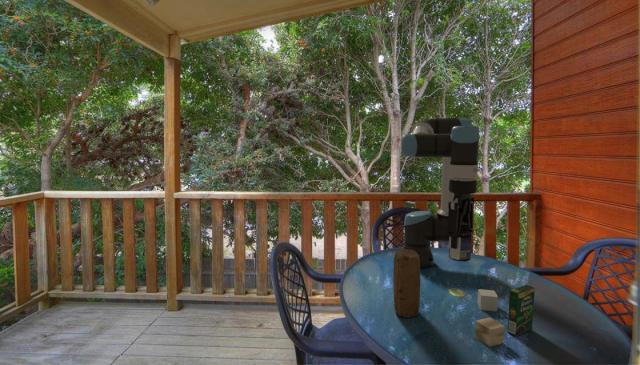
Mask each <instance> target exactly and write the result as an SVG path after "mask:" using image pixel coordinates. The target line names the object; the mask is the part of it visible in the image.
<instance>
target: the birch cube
mask: <svg viewBox="0 0 640 365" xmlns="http://www.w3.org/2000/svg"><path fill="white" fill-rule="evenodd" d="M474 334H475V335H474V336H475V338H476V339H477V340H479V341H480V342H482V343H483V344H484V345H486V346H487V347H490V348H491V347H494V346H497V345H501V344H504V341H505V340H504V339H505V325H504V324H502V323H500V322H498V321H497V320H495V319H493V318H492V317H486V318H485V317H484V318H481V319H477V320H475V332H474Z"/></svg>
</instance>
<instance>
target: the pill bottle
mask: <svg viewBox="0 0 640 365" xmlns="http://www.w3.org/2000/svg"><path fill="white" fill-rule="evenodd" d="M468 228H469V223H468V222H463V221H462V224H461V230H460V236H459V237H460V238H461V245H460V260H457V259H452V258H450V238H451V237H449V243H448V258H449V259H450V260H452V261H456V262H464V263H465V262H469V261H471V259H472V257H471V256H472V255H471V254H472V234H473V233H471V232H470V231H469V230H468Z"/></svg>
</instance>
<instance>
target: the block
mask: <svg viewBox="0 0 640 365" xmlns="http://www.w3.org/2000/svg"><path fill="white" fill-rule="evenodd" d="M392 270H393V271H392V272H393V275H392V276H393V277H392V278H393V280H392V281H393V282H392V286H393V288H392V290H393V306H394V312H395V313H396V315H398V316H400V317H404V318H413V317H415V316H418V315H419V311H420V307H421V306H420V304H421V302H420V300H421V268H420V257H419V255H418V254H417V252H416V251H414V250H412V249H403V248H402V249H397V250H396V251H395V253H394V259H393V269H392Z"/></svg>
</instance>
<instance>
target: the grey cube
mask: <svg viewBox="0 0 640 365" xmlns="http://www.w3.org/2000/svg"><path fill="white" fill-rule="evenodd" d="M477 305H478V307H479V309H480V310H479V311H489V312H498V306H499V296H498V295H497V293H496V291H495V290H492V289H482V288H480V289H477Z"/></svg>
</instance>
